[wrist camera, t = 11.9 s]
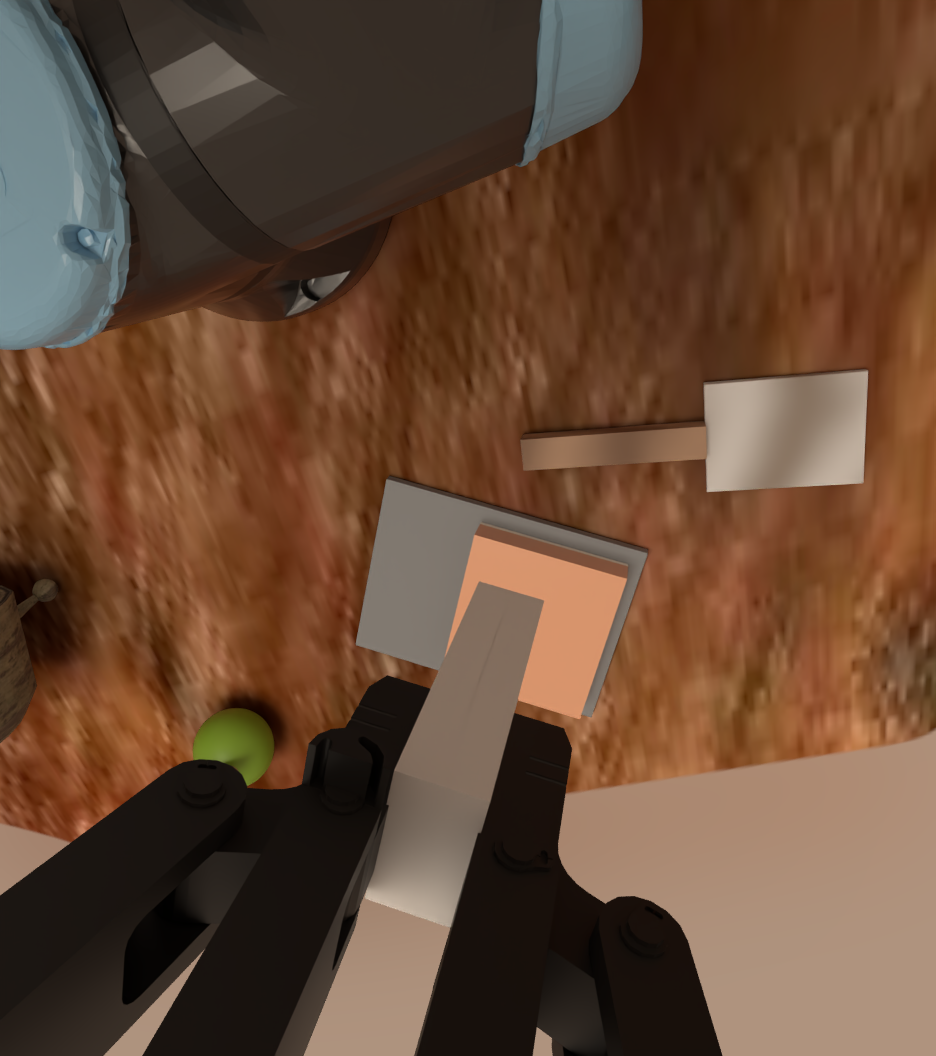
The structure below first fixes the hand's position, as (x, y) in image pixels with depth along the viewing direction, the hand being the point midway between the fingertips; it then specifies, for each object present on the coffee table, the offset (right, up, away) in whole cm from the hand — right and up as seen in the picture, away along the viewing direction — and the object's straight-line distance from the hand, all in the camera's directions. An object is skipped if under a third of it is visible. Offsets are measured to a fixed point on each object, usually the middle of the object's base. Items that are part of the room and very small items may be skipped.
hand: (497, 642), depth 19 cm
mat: (+1, -2, +33) cm, 33 cm away
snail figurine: (-17, -12, +41) cm, 46 cm away
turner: (+11, +8, +27) cm, 30 cm away
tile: (-1, -2, +32) cm, 32 cm away
